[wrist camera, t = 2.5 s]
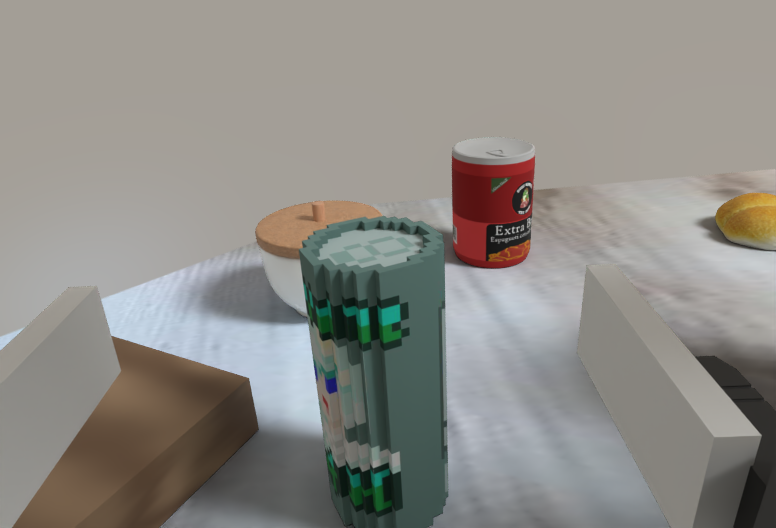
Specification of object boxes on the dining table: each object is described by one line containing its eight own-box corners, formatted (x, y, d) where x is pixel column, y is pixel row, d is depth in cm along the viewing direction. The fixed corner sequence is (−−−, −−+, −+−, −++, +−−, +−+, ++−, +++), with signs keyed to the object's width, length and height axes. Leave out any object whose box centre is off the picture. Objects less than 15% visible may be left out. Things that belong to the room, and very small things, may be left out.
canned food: (496, 277, 55) (499, 162, 50) (436, 253, 60) (434, 148, 56) (546, 252, 59) (553, 144, 54) (486, 232, 65) (488, 133, 60)
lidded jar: (413, 294, 53) (408, 194, 49) (329, 348, 45) (315, 237, 41) (328, 266, 59) (318, 176, 55) (243, 310, 52) (224, 210, 48)
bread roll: (732, 253, 57) (740, 215, 55) (706, 220, 65) (712, 185, 63) (827, 255, 55) (839, 216, 54) (789, 221, 63) (797, 185, 61)
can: (319, 474, 34) (285, 233, 27) (413, 438, 36) (402, 208, 29) (360, 557, 29) (330, 285, 22) (466, 509, 31) (467, 250, 24)
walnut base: (93, 370, 44) (78, 325, 43) (258, 429, 37) (248, 378, 36) (-160, 531, 32) (-195, 477, 30) (18, 665, 25) (-15, 604, 23)
